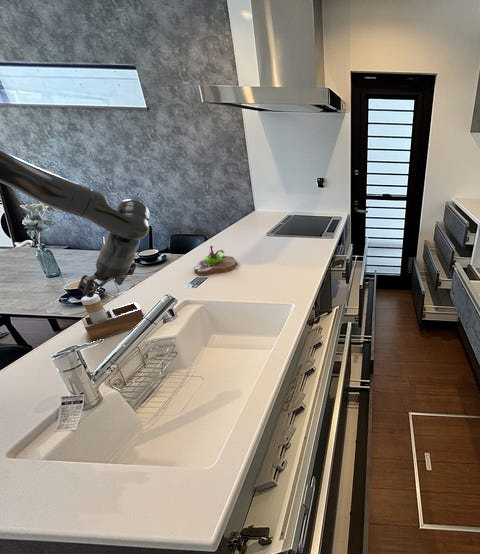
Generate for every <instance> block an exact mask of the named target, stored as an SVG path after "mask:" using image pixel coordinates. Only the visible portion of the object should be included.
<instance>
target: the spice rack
mask: <svg viewBox="0 0 480 554" xmlns="http://www.w3.org/2000/svg"><path fill="white" fill-rule="evenodd" d="M105 311H106V313H107V315H108V317H109V319H106V320H103V321H100V322H97V323H94V324H93V323H92V321H91V319H90V317H89V315H87V316H85V317H82V318H81V320H82V324H83V327H84V329H85V331H86V333H87V335H88V337H89V339H90V341H91V343H94V342H93V341H95V342H97V341H96V340H98V341H100V340H99V339H101V340H103V339H107V338H109V337H112V336H114V335H117V334H120V333H123V332H126V331H130V330H132V329H134V328H136V327H135V326H136V325H137V324H138V323H139V322H140V321H141V320H142V319H143V317H144V318H145V315H144V313H143V310H142V308H141V307H140V305H139V304H138V303H137V301H133V302H130V303H127V304H123V305H121V306H117V307H114V308H111V309H108V310H105Z"/></svg>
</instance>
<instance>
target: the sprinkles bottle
mask: <svg viewBox="0 0 480 554" xmlns="http://www.w3.org/2000/svg"><path fill="white" fill-rule="evenodd" d="M80 302H81V304H82V305H83V306H84V308H85V311H86V312H87V314H88V315H87V316H89V317H90V319H91V321H92V323H93V324H94V323H97V322H100V321H103V320H106V319H109V317H108V315H107V313H106V311H107V310H106V309H105V307H104V305H103V303H102V300H101V297H100V295H99V294H97V293H94V295H93V297H91V298H89V297H87V296H86V295H85V296H83V297H81V299H80Z"/></svg>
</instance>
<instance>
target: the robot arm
mask: <svg viewBox="0 0 480 554" xmlns="http://www.w3.org/2000/svg"><path fill="white" fill-rule="evenodd" d="M0 183H1V184H3V185H6V186H8V188H9V187H10V188H11V189H14V190H16V191H18V192H20V193H21V194H23V195H26V196H28V197H29V198H30V199H33V200H35V201H37V202H39V203H40V204H43V205H45V206H47V207H50V208H52V209H55V210H58V211H61V212H64V213H67V214H70V215H73V216H76V217H80V218H83V219H85V220H88V221H90V222H91V223H93V224H95V225H97V226H99V228H101V229H104V230H106V231H108V233H107V236H106V237H105V241H104V243H103V245H102V246H101V248H100V251H99V254H98V257H97V259H96V261H95V268H96V271H95V272H94V273H93V275H90V276H88V275H87V274H84V275H82V276H81V279H80V281H79V283H78V284H77V285H78V286H77V289H78V290H80V291H81V292H82V293H83V295H85V296H87V297H89V298H91V297H93V295H94V294H96V291H97V290H98V288H103V287H104V286H105V285H106V284H107V283H108V282H110V281H112V280H114V281H113V282H114V283H116V285H117V286H121V285H123V283H124V281H125V280H126V279H127V278H128V276H132V275H134V273H135V271H136V268H137V266H138V264H137V263H136V262H134V261H135V258H136V254H137V251H138V249H139V247H140V244H141V239H143V238H146V237H147V235H148V234H149V231H150V216H151V213H150V210H149V208H148V206H147V205H146V204H145V203H144V202H143V201H140V200H138V199H135V198H134V199H133V198H130V199H124V200H122V201H120V202H119V203H118V204H117V205H116V207H115V208H113V207H112V206H110V204H109V202H108V198H107V196H106V195H105V194H104V193H102V192H100V191H98V190H95V189H93V188H90V187H87V186H85V185H82V184H80V183H78V182H74V181H73V180H70V179H67V178H65V177H61V176H60V175H56V174H54V173H52V172H49V171H47V170H45V169H42V168H40V167H37V166H35V165H33V164H30V163H28V162H27V161H24V160H22V159H20V158H18V157H15V156H13V155H12V154H9V153H7V152H5V151H3V150H0Z"/></svg>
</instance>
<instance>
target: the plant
mask: <svg viewBox="0 0 480 554" xmlns="http://www.w3.org/2000/svg"><path fill="white" fill-rule="evenodd" d="M213 248H214V246H213V245H209V249H210V252H209V253H208V255H205V256H204V257H205V258H204V259H201V260H199V261H198V262H196V266H194V267H193V270H194V273H195V274H197V275H198V276H209V275H214V274H219V273H220V274H221V273H226V272H229V271H232V270H235V269H236V266H237V265H238V263H237V260H236V258H235V257H234V256H232V255H225V251H224V250H223V249H222V250H221V249H220V250H217V251H216V252H214V250H213ZM220 253H222V255H221V254H220Z"/></svg>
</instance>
